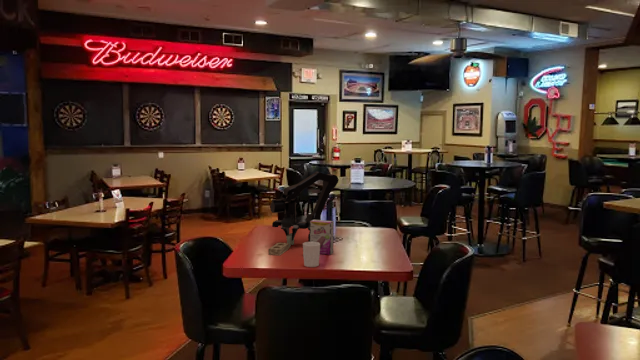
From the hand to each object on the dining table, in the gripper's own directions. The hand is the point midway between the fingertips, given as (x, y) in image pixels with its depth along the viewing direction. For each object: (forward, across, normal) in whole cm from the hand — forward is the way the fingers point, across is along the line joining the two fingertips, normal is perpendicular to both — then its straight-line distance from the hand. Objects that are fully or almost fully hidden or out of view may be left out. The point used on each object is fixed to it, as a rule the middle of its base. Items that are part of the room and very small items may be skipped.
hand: (290, 240), depth 257 cm
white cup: (+3, +21, -33) cm, 39 cm away
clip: (+3, 0, 0) cm, 3 cm away
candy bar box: (+3, +20, -11) cm, 23 cm away
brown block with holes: (+3, -2, -14) cm, 14 cm away
